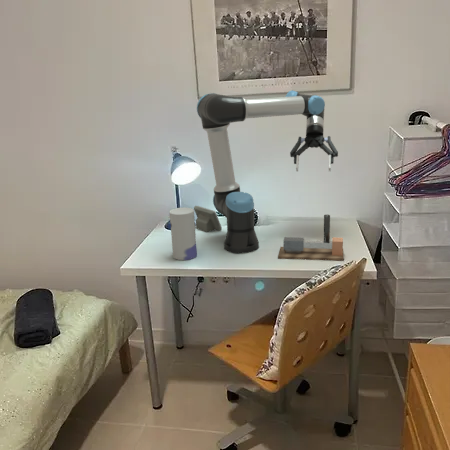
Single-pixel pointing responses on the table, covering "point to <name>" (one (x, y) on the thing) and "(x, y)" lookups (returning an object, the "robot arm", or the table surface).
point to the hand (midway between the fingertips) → (313, 169)
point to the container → (183, 233)
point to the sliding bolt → (326, 243)
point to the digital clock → (206, 219)
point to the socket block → (337, 246)
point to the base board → (311, 254)
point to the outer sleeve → (293, 245)
